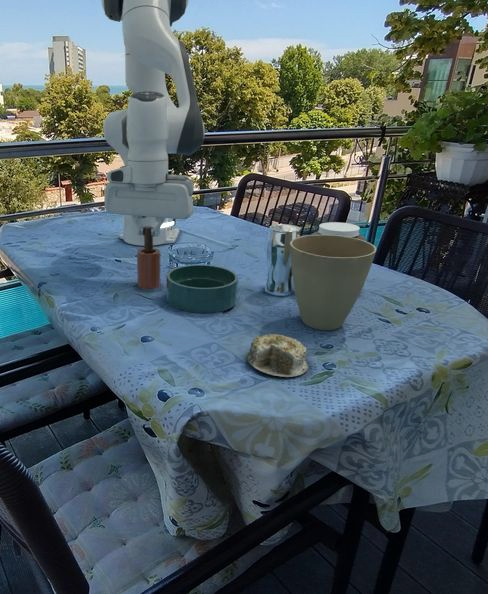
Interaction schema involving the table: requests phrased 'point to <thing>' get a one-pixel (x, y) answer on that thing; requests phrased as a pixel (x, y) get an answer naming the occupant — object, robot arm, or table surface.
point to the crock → (148, 269)
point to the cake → (278, 355)
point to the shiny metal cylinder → (280, 259)
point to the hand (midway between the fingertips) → (148, 235)
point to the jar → (339, 230)
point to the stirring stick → (148, 240)
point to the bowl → (202, 288)
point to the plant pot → (328, 277)
